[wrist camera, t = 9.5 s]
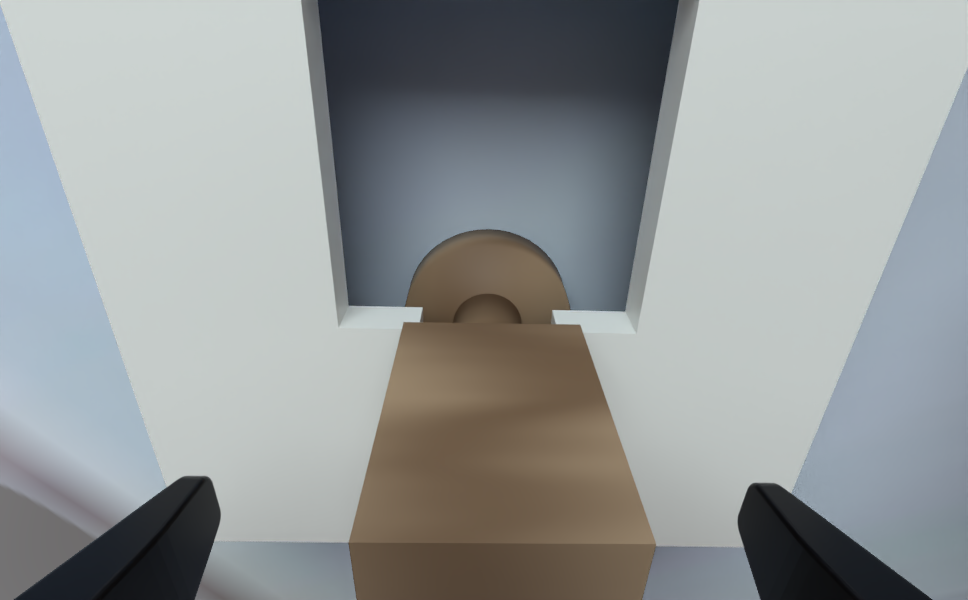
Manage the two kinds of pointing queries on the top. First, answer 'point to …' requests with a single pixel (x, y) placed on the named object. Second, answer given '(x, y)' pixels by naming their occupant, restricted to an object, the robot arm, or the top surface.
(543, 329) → the T-peg
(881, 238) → the keyhole plate
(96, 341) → the top surface
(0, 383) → the top surface
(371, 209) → the top surface
